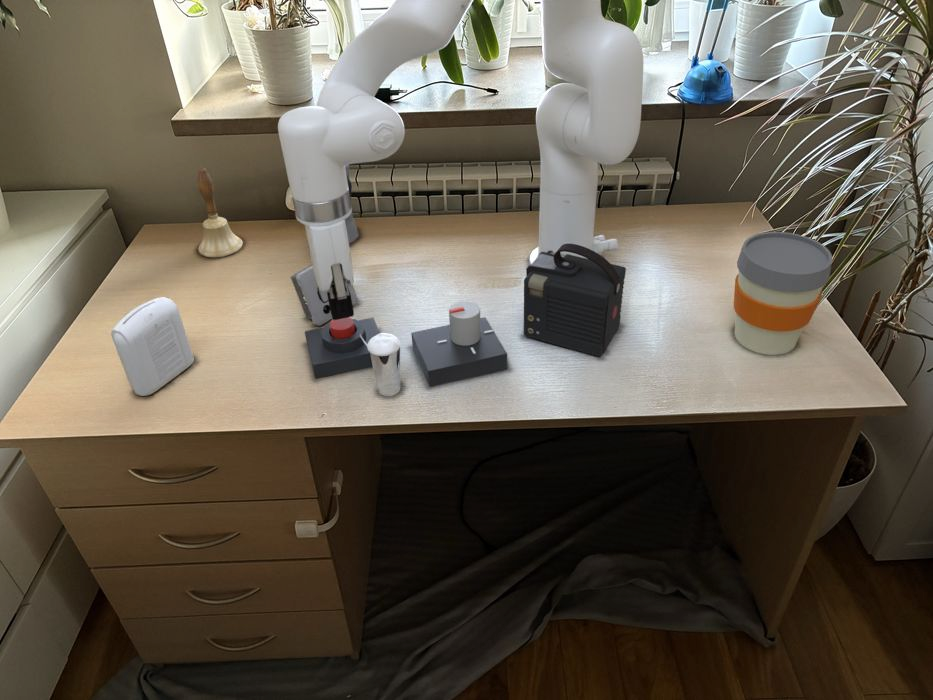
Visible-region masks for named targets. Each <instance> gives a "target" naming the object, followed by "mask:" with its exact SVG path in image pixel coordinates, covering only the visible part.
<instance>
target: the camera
mask: <svg viewBox="0 0 933 700" xmlns="http://www.w3.org/2000/svg"><path fill="white" fill-rule="evenodd" d="M564 251H565V252H571V253H575V254H578V255H581V256H583V257H585V258H582V257H577V256H573V255H569V254H566V255H564V254H560V252H564ZM586 258H587V259H586ZM525 270H526V276H525V277H524V279H523V335H524V336H525V337H528V338H532V339H534V340H539V341H543V342H545V343H548V344H552V345H556V346H559V347H563V348H567V349H571V350H574V351H578V352H582V353H586V354H589V355H593V356H596V357H601V356H602V355H603V354H604V352H606V349H607V347H608V345H609V344H610V343H611V341H612V340H613V337H614V336H615V335H616V332H617V331H618V329H619V328H620V324H621V317H622V316H621V315H622V314H621V312H622V307H623V306H622V303H623V298H624V296H623V293H624V284H625V279H626V271H627V268H626V266H624V265H623V266H622V265H618V264H613V263H611V262H610V261H608V260H607V259H606V258H605V257H604V256H602V255H601V254H598V253H596V252H594V251H592V250H590V249H588V248H586V247H583V246H580V245H576V244H563V245H562V246H561V247H560V248H559V249H558V250H557V252H556V253H555V252H553V251H551V250H550V251H548V252H547V253H546V252H540V253H539V255H538V257H537V258H536V259H535V261H534V262H533V263H532V264H531V265H530V264H529V265H528V266H527V267H526V269H525Z"/></svg>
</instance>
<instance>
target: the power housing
mask: <svg viewBox="0 0 933 700" xmlns="http://www.w3.org/2000/svg"><path fill="white" fill-rule="evenodd" d="M352 319H353V321H354V327H355V333H354V335H352V336H351V337H349V338H344V339H337V338H334V337H332V335H331V331H330V325H329V324H330V322H328V323H326V324H325V325H323V327H319V328H314V329H309V330H304V337H305V341H306V346H307V350H308V354H309V358H310V363H311V367H312V371H313V375H314V379H315V380H318V379H322V378H327V377H333V376H336V375H337V376H338V375H342V374H345V373H349V372H350V373H351V372H354V371H360V370H363V369H368V368H373V367H372V363H371V359H370V356H369V352H368V348H367V346H366V344H365V343H364V342H363V340H362V339H361V337H360V335H361V336H362V338H363V339H364V341H365V342H366V343H367V345H368V342H369V340H370V339H371V338H372V337H374V336H376V335H378V334H379V333H381V332H380V330H379V327H378V325H377V322H376V319H375V317H369V318H363V319H359V320H358V319H356V318H352Z"/></svg>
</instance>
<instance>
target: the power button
mask: <svg viewBox="0 0 933 700" xmlns="http://www.w3.org/2000/svg"><path fill="white" fill-rule="evenodd" d="M353 319H354V318H352V317H347V318H343V319H338V320H333V319H330V322H329V323H330V324H329V325H330V331H331V335H332V337H334V338H337V339H344V338H349V337H351V336H352V335H354V333H355V327H354V321H353Z"/></svg>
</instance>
